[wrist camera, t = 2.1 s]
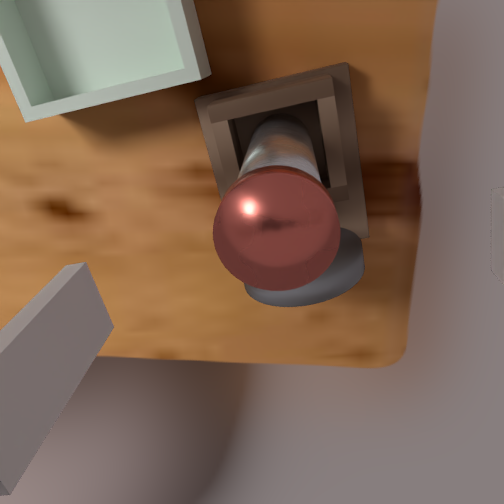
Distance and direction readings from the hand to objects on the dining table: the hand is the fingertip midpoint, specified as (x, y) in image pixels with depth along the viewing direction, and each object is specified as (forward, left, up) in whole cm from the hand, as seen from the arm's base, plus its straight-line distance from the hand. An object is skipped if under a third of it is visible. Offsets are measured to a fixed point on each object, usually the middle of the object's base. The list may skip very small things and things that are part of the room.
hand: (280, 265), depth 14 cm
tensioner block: (+2, 0, -19) cm, 19 cm away
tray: (-11, -10, -19) cm, 24 cm away
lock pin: (0, 0, -17) cm, 17 cm away
